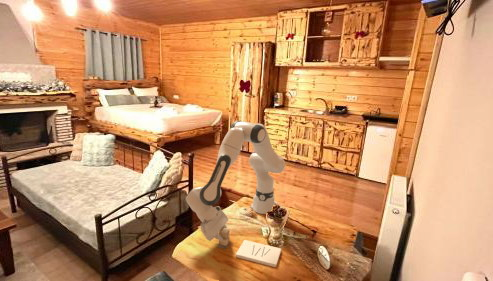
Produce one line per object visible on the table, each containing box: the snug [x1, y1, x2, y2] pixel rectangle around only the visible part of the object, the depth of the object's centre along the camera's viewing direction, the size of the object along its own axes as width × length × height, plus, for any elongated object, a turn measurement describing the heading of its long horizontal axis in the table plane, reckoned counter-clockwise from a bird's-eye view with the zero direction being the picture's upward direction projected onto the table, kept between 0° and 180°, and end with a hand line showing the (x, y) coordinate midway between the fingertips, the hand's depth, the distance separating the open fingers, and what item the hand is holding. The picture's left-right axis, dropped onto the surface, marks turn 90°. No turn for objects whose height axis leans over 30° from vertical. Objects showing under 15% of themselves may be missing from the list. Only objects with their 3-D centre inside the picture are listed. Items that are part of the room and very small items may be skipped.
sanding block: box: [217, 227, 230, 249], centre depth 133 cm, size 5×5×9 cm
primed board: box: [235, 239, 282, 268], centre depth 128 cm, size 13×20×2 cm, turn 72°
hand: (225, 237), depth 133 cm, fingers open, 5 cm apart
